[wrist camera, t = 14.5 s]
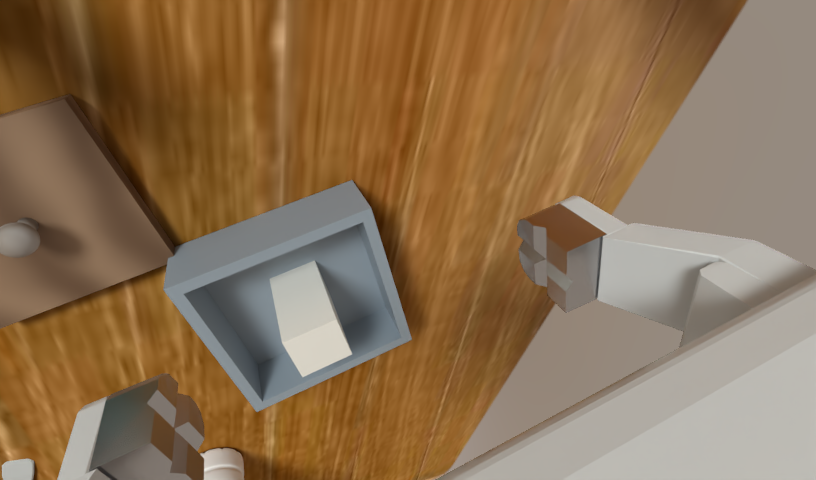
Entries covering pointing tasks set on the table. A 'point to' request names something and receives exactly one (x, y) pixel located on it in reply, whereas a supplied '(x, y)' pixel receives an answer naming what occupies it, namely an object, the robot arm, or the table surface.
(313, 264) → the ivory rectangular pillar
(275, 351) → the slate bin
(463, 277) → the table surface
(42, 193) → the walnut base
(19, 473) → the fork
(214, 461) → the water bottle
